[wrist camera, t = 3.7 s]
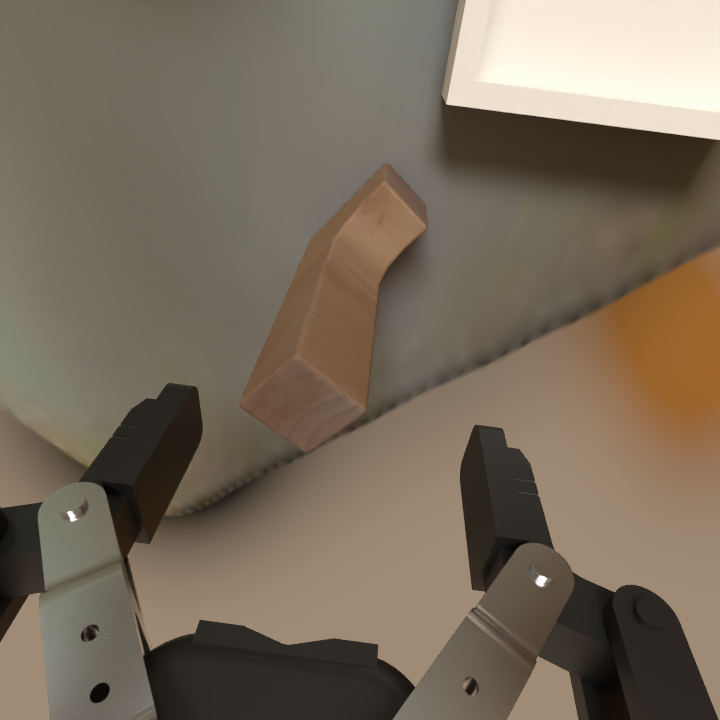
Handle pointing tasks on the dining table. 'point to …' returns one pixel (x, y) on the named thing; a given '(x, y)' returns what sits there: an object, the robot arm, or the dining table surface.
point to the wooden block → (333, 316)
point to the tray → (591, 62)
